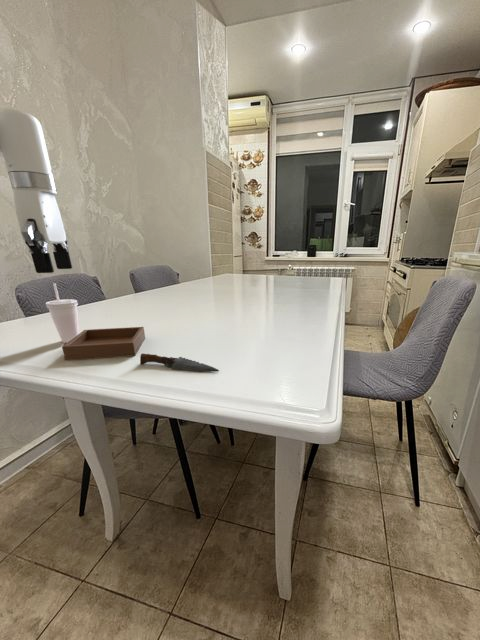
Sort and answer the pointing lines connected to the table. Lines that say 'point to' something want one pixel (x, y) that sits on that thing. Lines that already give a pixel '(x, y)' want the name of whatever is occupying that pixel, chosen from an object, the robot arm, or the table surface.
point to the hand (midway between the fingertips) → (55, 270)
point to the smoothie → (64, 316)
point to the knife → (177, 363)
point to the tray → (104, 343)
